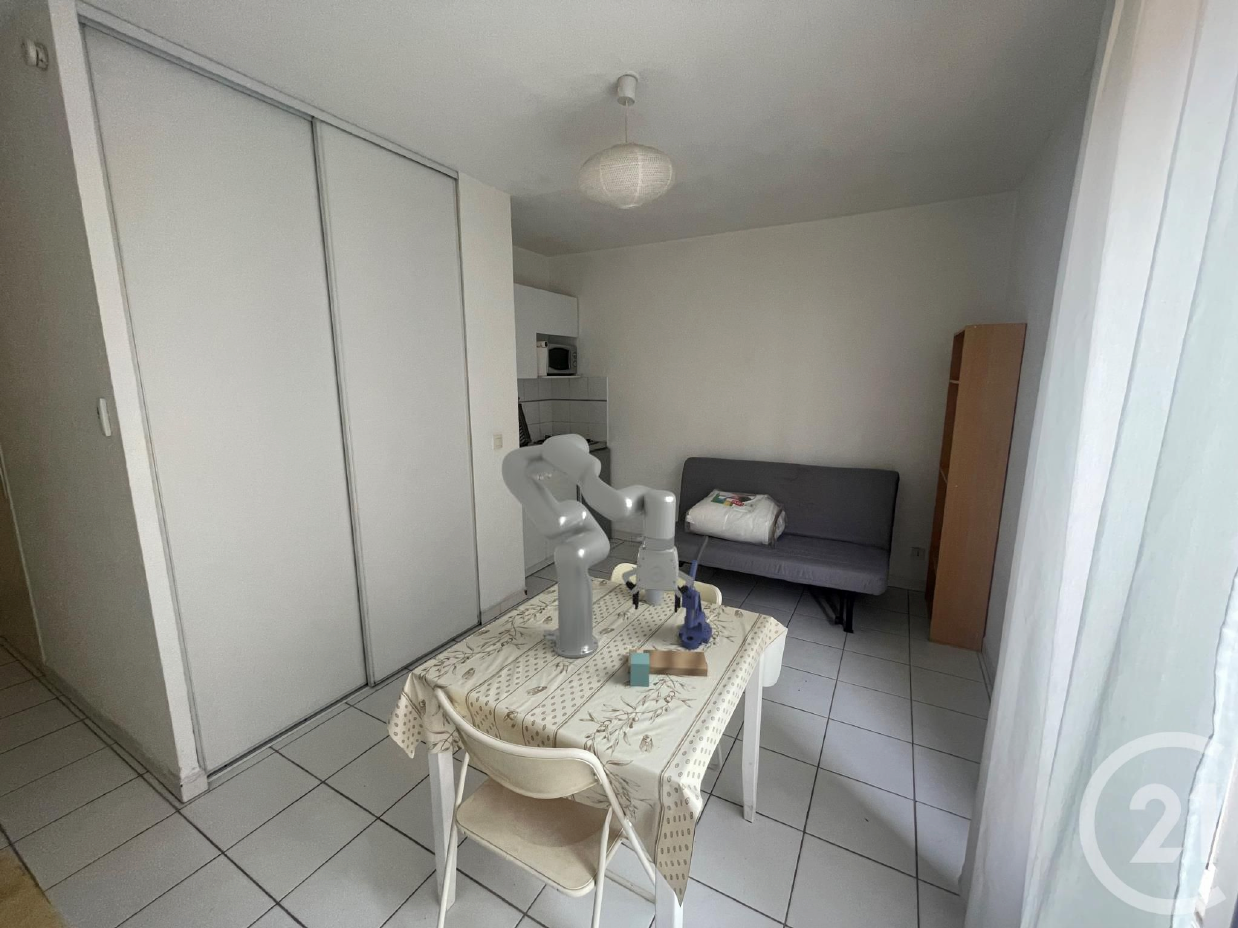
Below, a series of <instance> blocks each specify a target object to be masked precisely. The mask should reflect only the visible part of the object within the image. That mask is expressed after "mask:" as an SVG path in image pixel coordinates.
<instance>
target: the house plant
mask: <svg viewBox="0 0 1238 928" xmlns="http://www.w3.org/2000/svg"><path fill="white" fill-rule="evenodd" d="M635 558H636V559H637V558H638V556H637V557H635ZM634 568H635V567H633V566H632V567H631V569H634ZM644 593H645V601H646V604H648V605H649V606H653V607H654V606H655V607H656V606H660V605H661V604H662V603H663V599H664V593H665V591H661V590H647V589H644Z"/></svg>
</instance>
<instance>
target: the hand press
mask: <svg viewBox="0 0 1238 928" xmlns="http://www.w3.org/2000/svg"><path fill="white" fill-rule="evenodd" d="M708 541H709V536H708V535H703V537H702V538H701V540H700V543H699V545H698V547H697V548H696V552H694V553H695V554H694V556H693V561H692V564H691V567H690V572H689V575H688V576H690V577H692V578H693V583H692V585H691V586H690V587H689V590H688V591H687V592H685V593H684V594H683V595H682V597H681V608H683V609H685V616H684V619H683V620H684V622H683V624H682V626H681V627H680V629H679V631H678V639H681V646H682V648H683V649H686V650H688V651H693V650H694V651H695V650H697V649H699V648H700V646H702V645H703V644H705V645H708V644H709V643H710V641H711V638H712V636H713V628H712V626H711V625H710V624H709V623H708V622H707V620H706V619H707V618H706V617H707V616H706V615H707V614H706V612H704V611H703V607H702V606H703V605H702V599H701V598H702V597H701V592H700V591H698V590H696V587H695V586H694V585H695V579H696V574H697V569H698V565H699V562H700V558H701V556H702V553H703V551H704V549H705V547H706V545H707V544H708Z"/></svg>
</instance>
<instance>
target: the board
mask: <svg viewBox="0 0 1238 928" xmlns="http://www.w3.org/2000/svg"><path fill="white" fill-rule="evenodd" d="M637 650H638V649H636V648H635V649H631V648H630V649H628V660H627V662H628V663H627V674H631V653H637ZM642 650H643V653H649V675H661V676H662V675H663V676H666V675H667V676H687V677H690V676H691V677H708V672H709V670H708V665H707V661H706V656H705V652H704V651H692V650H688V651H686V650H685V651H684V650H662V649H661V650H659V649H642Z"/></svg>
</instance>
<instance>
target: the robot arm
mask: <svg viewBox="0 0 1238 928" xmlns="http://www.w3.org/2000/svg"><path fill="white" fill-rule="evenodd" d="M601 469H602V464H601V461H600V460H599V459H598V458H597V457H596V456H594V455H592V454H590V447H589V444H588V441H587V440H586V439H585V438H584V436H582V435H580V434H578V433H568V434H558V435H554V436H551V437H549V438H547V439H545V440H544V442H543V443H542V444H538V445H530V446H522V447H519V448H515V449H513V450H510V451H509V452H507V454H506V455H504V458H503V459H502V462H501V475H502V479H503V482H504V484H505V486H506V488H507V489H508V490H509V493H511V494H512V495H513V497H514V498H515V499H516V500H517V501H518V503H519V504H521V506H522V507H523V509H524V510H525V513H526V514H527V515H528V517H529V518H530V519H531V521H532V522H533V524H534V525H535V527H536V529H538V531H539V532H540V534H541V535H542V536H543V537H544V538H545V539H547V540H550V541H551V540H553V541H554V540H559V539H560V538H563V537H566V536H568V537H566V538H565V539H563V540H562V541H560V542H559V543H558V544H557V546H556V547H555V549H554V552H553V562H554V567H555V571H556V578H557V612H558V613H557V617H558V618H557V619H558V620H557V621H558V622H557V624H558V627H557V628H554V630H553V629H543V631H542V637H543V638H545V641H546V642H548V641H549V642H550V641H552V649H553V651H554V652H555V653H556V654H558V655H559V656H561V657H565V658H570V659H576V658H577V659H578V658H579V659H580V658H585V657H587V656H590V655H592V654H594V653H595V652H596V651H597V650H598V647H599V640H598V638H597V637H596V636H595V635H594V633H593V627H594V626H593V624H594V623H593V622H594V621H593V619H594V617H593V616H594V613H593V612H594V609H593V603H594V601H593V598H594V597H593V596H594V593H593V592H594V591H593V588H594V587H593V581H592V579H591V577H590V574H589V571H588V570H589V568H590V567H592V566H594V565H596V564H598V563H601V562H602V561H603V560H605V559H606V558H607V557H608V555H609V554H610V550H611V549H610V548H611V545H610V541H609V538H608V535H607V534H606V533H605V531H604V530H603V529H602V527H601V526H600V524H599V523H598V521H597V520H596V519H595V517H594V516H593V515H592V513H591V511H589V509H588V508H587V507H586V506H585V504H583V503H582V502H580V501H578V500H574V499H565V500H563V501H558V500H557V499H556V498H555V497H554V496H553V495H552V493H551V491H550V489H549V488H548V487H546V485H544V484H543V483H541V482H540V481H538V480H536V479H535V478H534V477H536V476H540V475H545V474H550V473H553V472H556V471H557V472H558V473H560V474H561V475H563V476H564V477H565V478H567V479H569V480H570V481H571V482H572V483H573V484H576V485H577V486H578V487H579V489H580V493H581V495H582V497H583V498H584V500H585V502H586V503H587V504H588V506H590V508H592V509H593V510H595V511H596V513H599V514H600V515H601V516H603V517H605V518H606V519H607V520H610V521H612V522H616V523H624V522H626V521H629V520H631V519H634V518H635V517H640V516H643V522H642V524H643V527H642V534H641V535H637V536H636V542H638V543H641V545H640V546H639V549H638V554H637V558H636V567H634V569H633V568H631V569H629V570H628V571H627V570H626V571H624V572H623V573H622V574H621V579H622V580H623V582H624V584H625V586H626V588H628V589H629V591H630V593H631V594H632V600H631V601H632V602H631V603H632V605H634V610H636V611H637V610H638V609H639V605H640V589H641V590H645V589H647V590H661V591H664V592H665V591H666V592H673V593H674V608H673V609H674V613H678V609H681V604H682V595H683V594H684V593H685V592H687V591H688V590H689V587H690V586H691V585H692V583H693V578H692V577H690V576H689V575H688V574H686V573H685V572H683V571H681V570H679V555H678V549H677V547H676V546H675V534H676V533H675V532H676V531H675V530H676V507H677V506H676V505H677V502H676V501H677V500H676V499H677V498H676V495H675V494H674V493H673V492H671V491H669V490H666V489H665V490H663V489H662V490H661V489H654V488H652V487H649V486H646V485H643V484H634V485H631V486H627V487H623V488H620V489H617V490H616V488H613V487H611V486H610V485H609V484H608V483H606V482H604V481H603V480H602V479H601V478H600V477H599V476H600V473H601ZM569 535H571V536H569ZM634 576H635V583H634V582H632V581H631V580H630V578H631V577H634ZM679 579H681V580H682V581H685V583H683V585H681V586H680V585H679Z"/></svg>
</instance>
